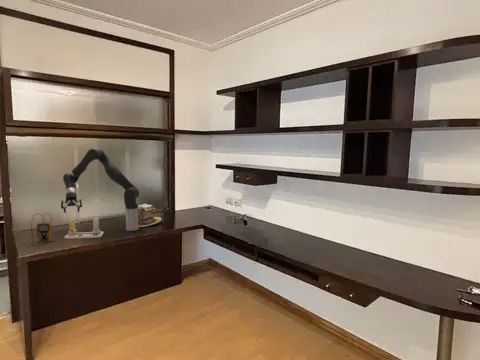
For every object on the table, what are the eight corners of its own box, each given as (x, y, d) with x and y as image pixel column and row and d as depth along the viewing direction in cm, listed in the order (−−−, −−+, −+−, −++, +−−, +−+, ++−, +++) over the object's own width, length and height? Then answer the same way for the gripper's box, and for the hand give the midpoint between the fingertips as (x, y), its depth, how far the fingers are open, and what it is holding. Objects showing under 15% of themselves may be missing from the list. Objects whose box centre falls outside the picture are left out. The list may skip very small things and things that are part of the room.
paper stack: (133, 229, 258) (132, 208, 256) (129, 221, 281) (128, 202, 279) (164, 225, 269) (164, 206, 267) (158, 219, 291) (157, 200, 289)
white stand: (103, 233, 245) (102, 216, 243) (100, 237, 235) (100, 219, 234) (68, 234, 240) (68, 217, 238) (64, 238, 230) (63, 221, 229)
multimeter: (29, 246, 214) (27, 216, 211) (32, 241, 223) (31, 213, 221) (55, 243, 219) (53, 214, 217) (57, 239, 228) (55, 211, 226)
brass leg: (76, 233, 238) (76, 218, 237) (74, 235, 232) (73, 220, 231) (70, 233, 237) (69, 218, 236) (67, 235, 231) (67, 220, 230)
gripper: (60, 192, 247) (60, 210, 238) (81, 191, 253) (82, 208, 244) (61, 198, 252) (61, 215, 243) (81, 196, 259) (82, 214, 250)
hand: (71, 212), depth 244 cm, fingers open, 8 cm apart
